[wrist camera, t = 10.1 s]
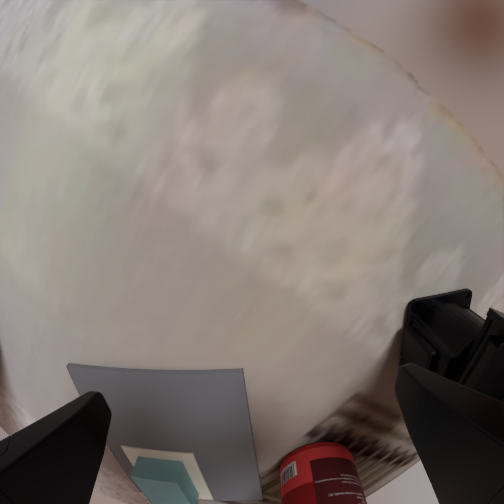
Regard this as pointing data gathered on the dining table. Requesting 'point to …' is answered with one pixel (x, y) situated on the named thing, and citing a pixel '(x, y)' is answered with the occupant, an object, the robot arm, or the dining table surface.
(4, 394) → the dining table surface
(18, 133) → the dining table surface
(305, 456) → the canned food
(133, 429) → the mat
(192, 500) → the block
